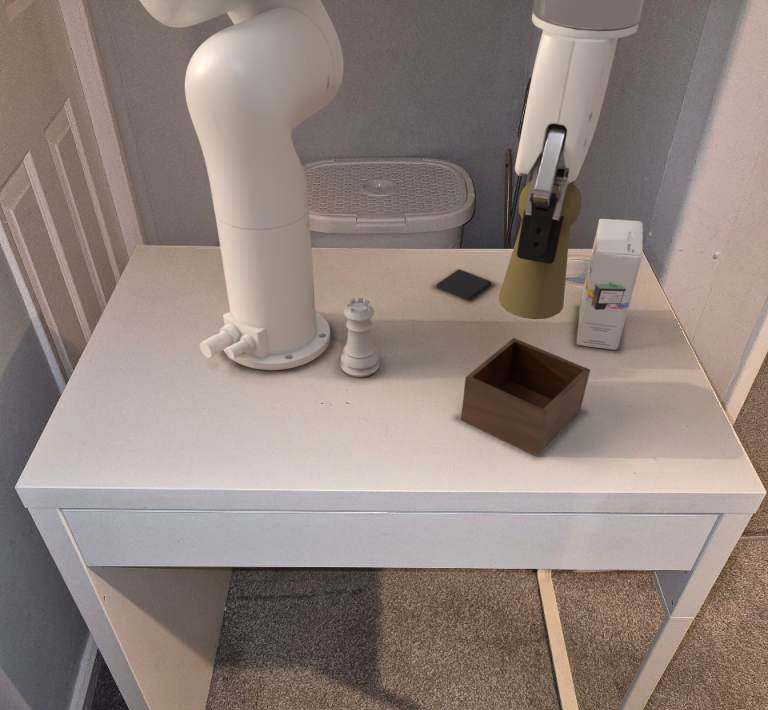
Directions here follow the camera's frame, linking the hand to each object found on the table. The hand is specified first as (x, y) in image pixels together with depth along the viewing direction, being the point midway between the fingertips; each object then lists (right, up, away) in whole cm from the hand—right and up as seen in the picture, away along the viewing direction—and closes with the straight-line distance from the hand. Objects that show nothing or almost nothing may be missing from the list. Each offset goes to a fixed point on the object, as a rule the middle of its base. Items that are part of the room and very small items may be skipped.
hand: (542, 241), depth 66 cm
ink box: (+12, -2, +24) cm, 27 cm away
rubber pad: (-4, +5, +31) cm, 32 cm away
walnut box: (0, -14, +13) cm, 19 cm away
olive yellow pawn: (0, -4, +4) cm, 6 cm away
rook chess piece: (-17, -8, +19) cm, 26 cm away
